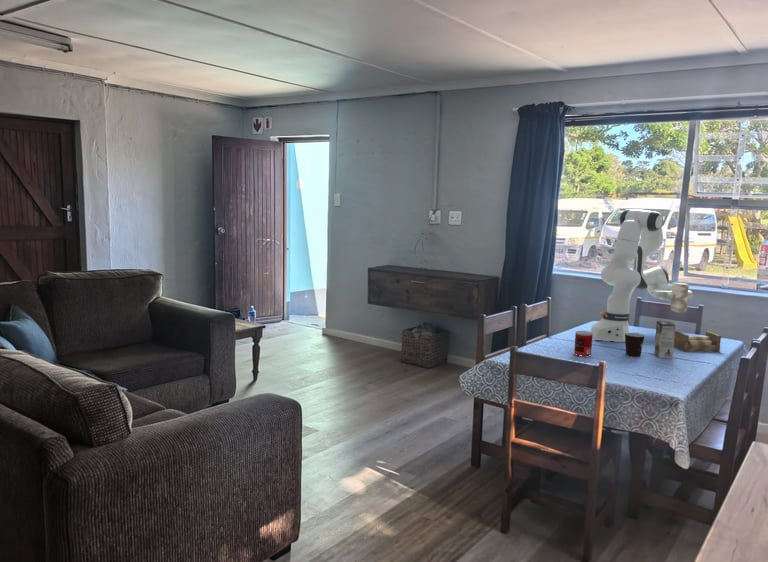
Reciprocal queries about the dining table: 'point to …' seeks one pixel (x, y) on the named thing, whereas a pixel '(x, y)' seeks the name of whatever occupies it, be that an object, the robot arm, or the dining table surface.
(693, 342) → the front plywood offcut
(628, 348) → the brown paper cup
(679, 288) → the pale wood block
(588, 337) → the canned food
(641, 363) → the dining table surface
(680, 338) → the walnut rack
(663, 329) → the coffee box
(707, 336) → the back plywood offcut
